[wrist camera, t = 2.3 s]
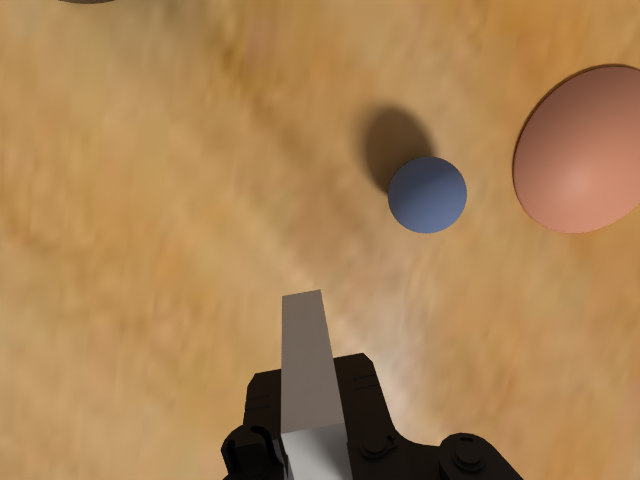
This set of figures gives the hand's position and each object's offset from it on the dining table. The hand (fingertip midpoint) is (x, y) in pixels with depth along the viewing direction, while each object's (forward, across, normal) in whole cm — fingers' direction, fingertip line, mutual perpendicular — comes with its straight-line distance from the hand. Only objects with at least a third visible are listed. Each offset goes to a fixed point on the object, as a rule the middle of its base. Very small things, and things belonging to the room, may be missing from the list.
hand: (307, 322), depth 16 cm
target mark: (+16, +24, 0) cm, 29 cm away
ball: (+13, +10, 0) cm, 16 cm away
